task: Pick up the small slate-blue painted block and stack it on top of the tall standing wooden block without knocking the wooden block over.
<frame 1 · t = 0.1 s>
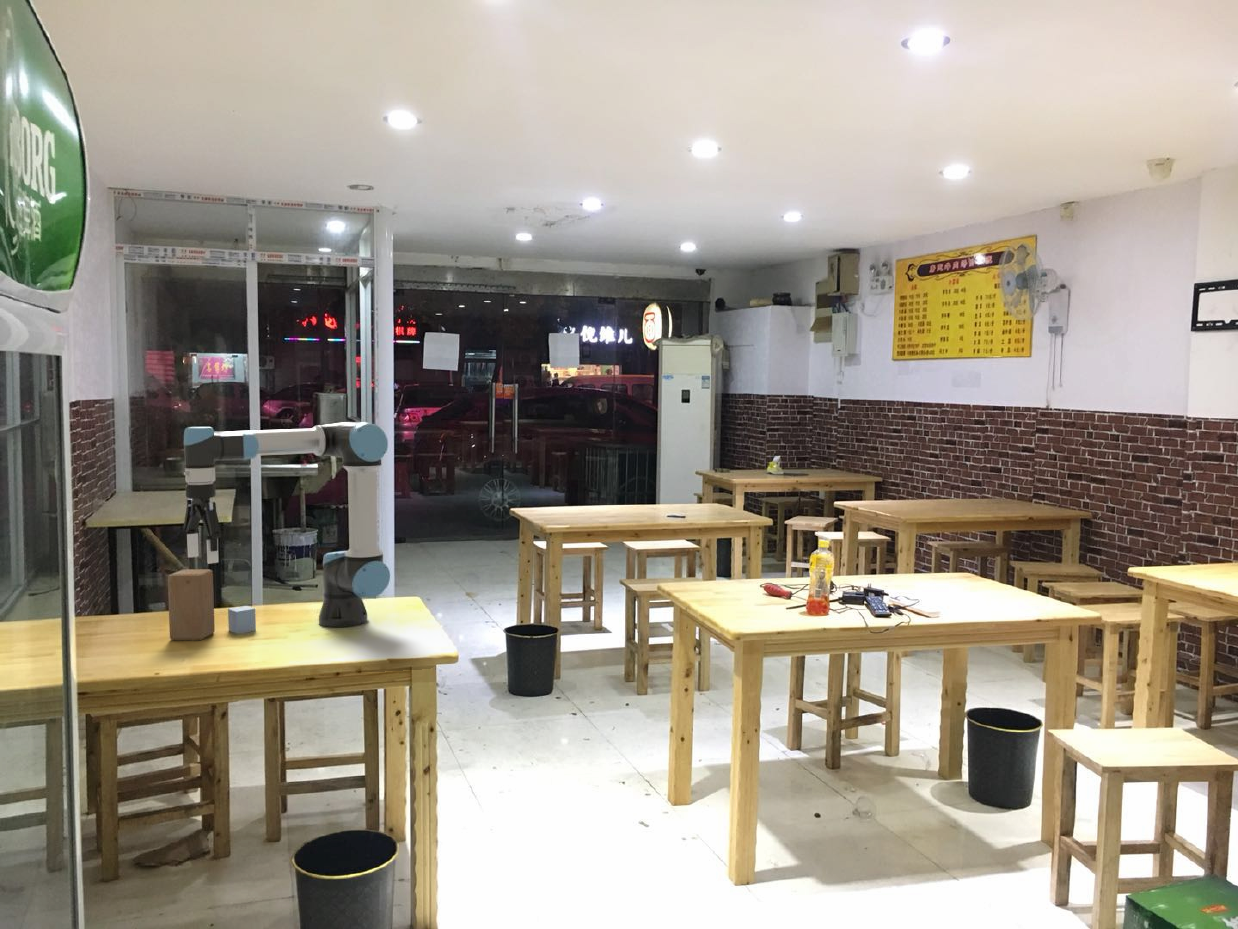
hand: (202, 560, 268), 28 cm above the table, fingers open, 13 cm apart
wooden block: (192, 637, 296), on the table
slate block: (242, 630, 303), on the table
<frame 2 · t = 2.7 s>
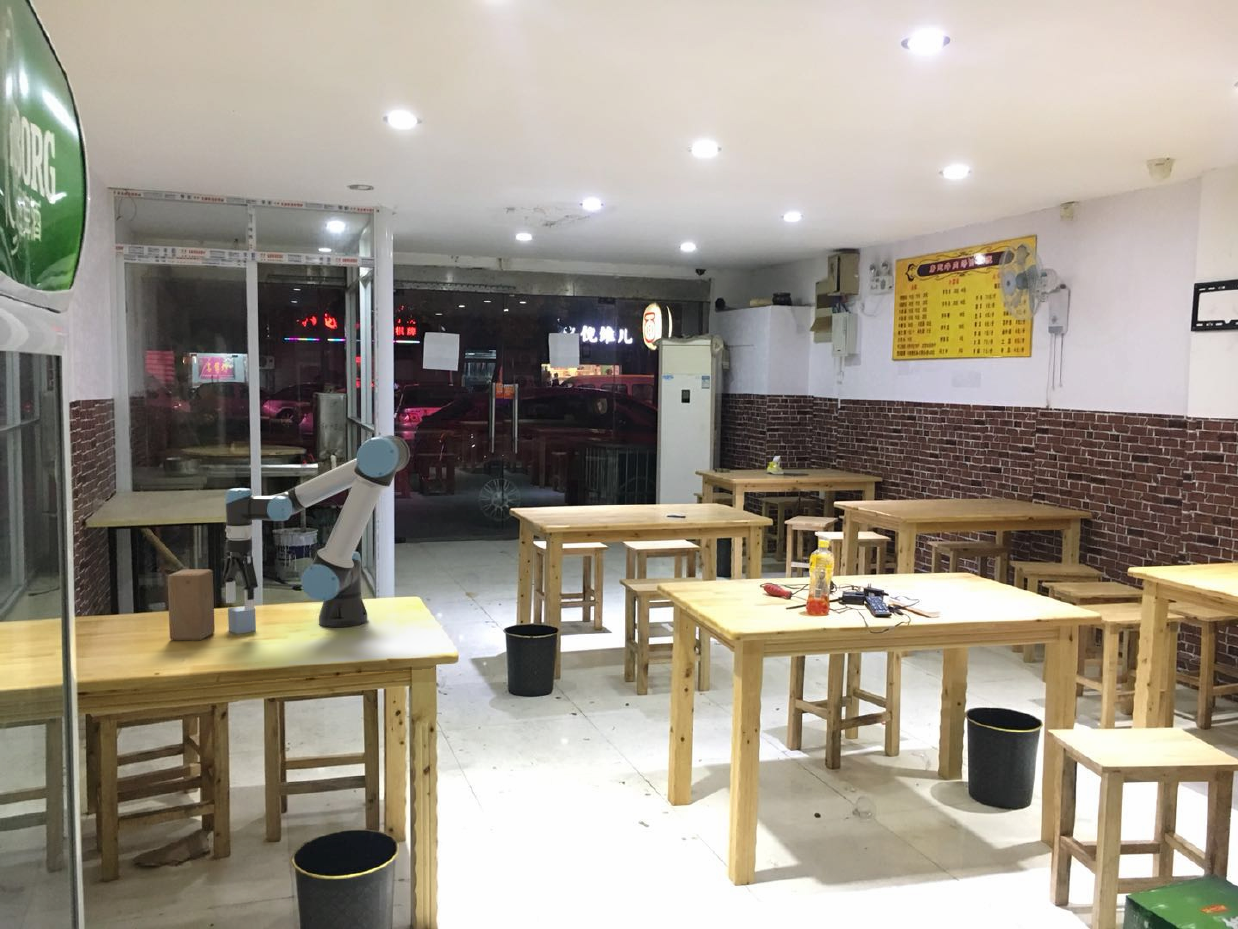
hand: (240, 606, 303), 8 cm above the table, fingers open, 13 cm apart
nothing on the table moved.
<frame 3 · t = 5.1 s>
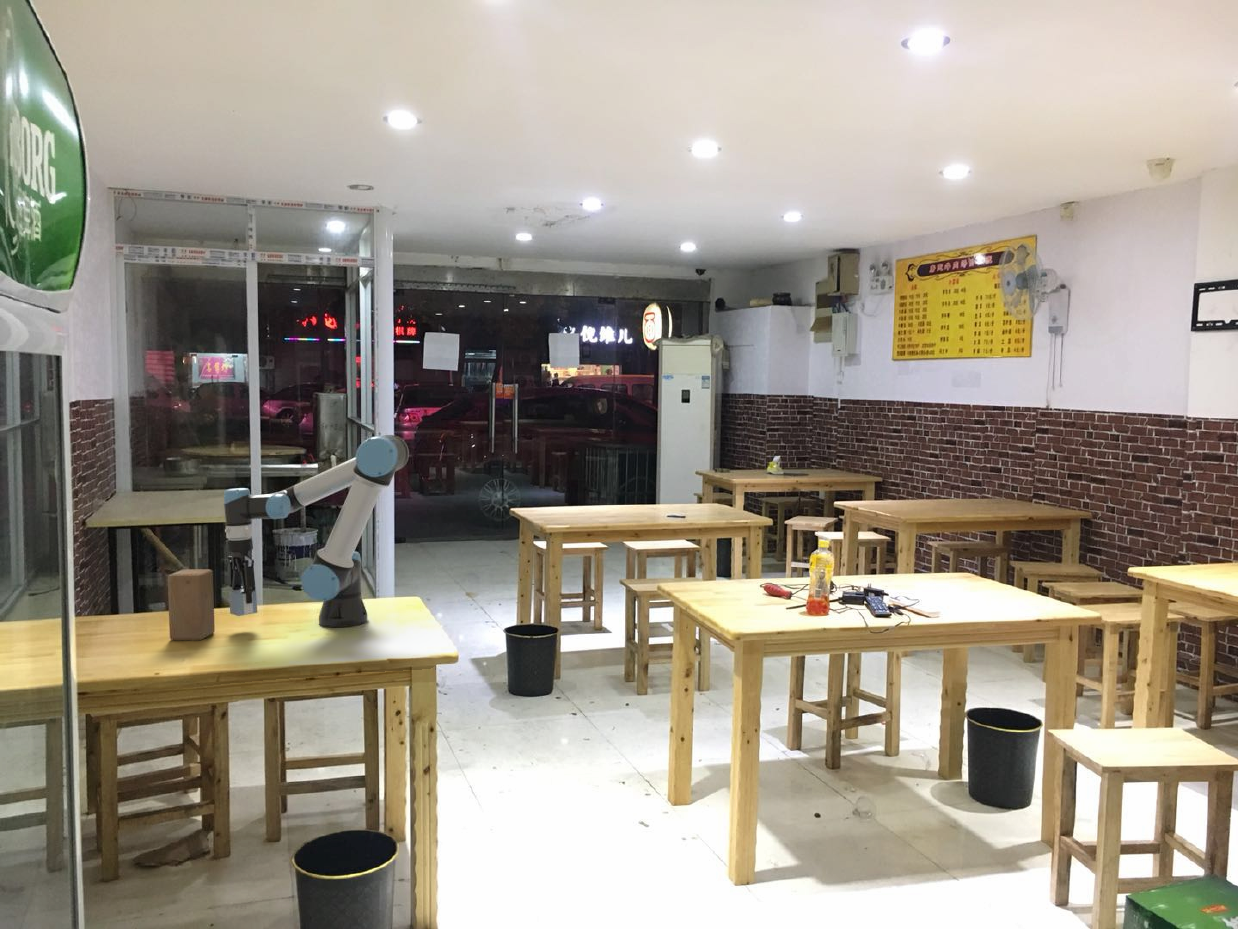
hand: (243, 612, 303), 6 cm above the table, fingers closed on slate block, 6 cm apart
slate block: (243, 613, 303), point 6 cm above the table, touching gripper
everything else where it was.
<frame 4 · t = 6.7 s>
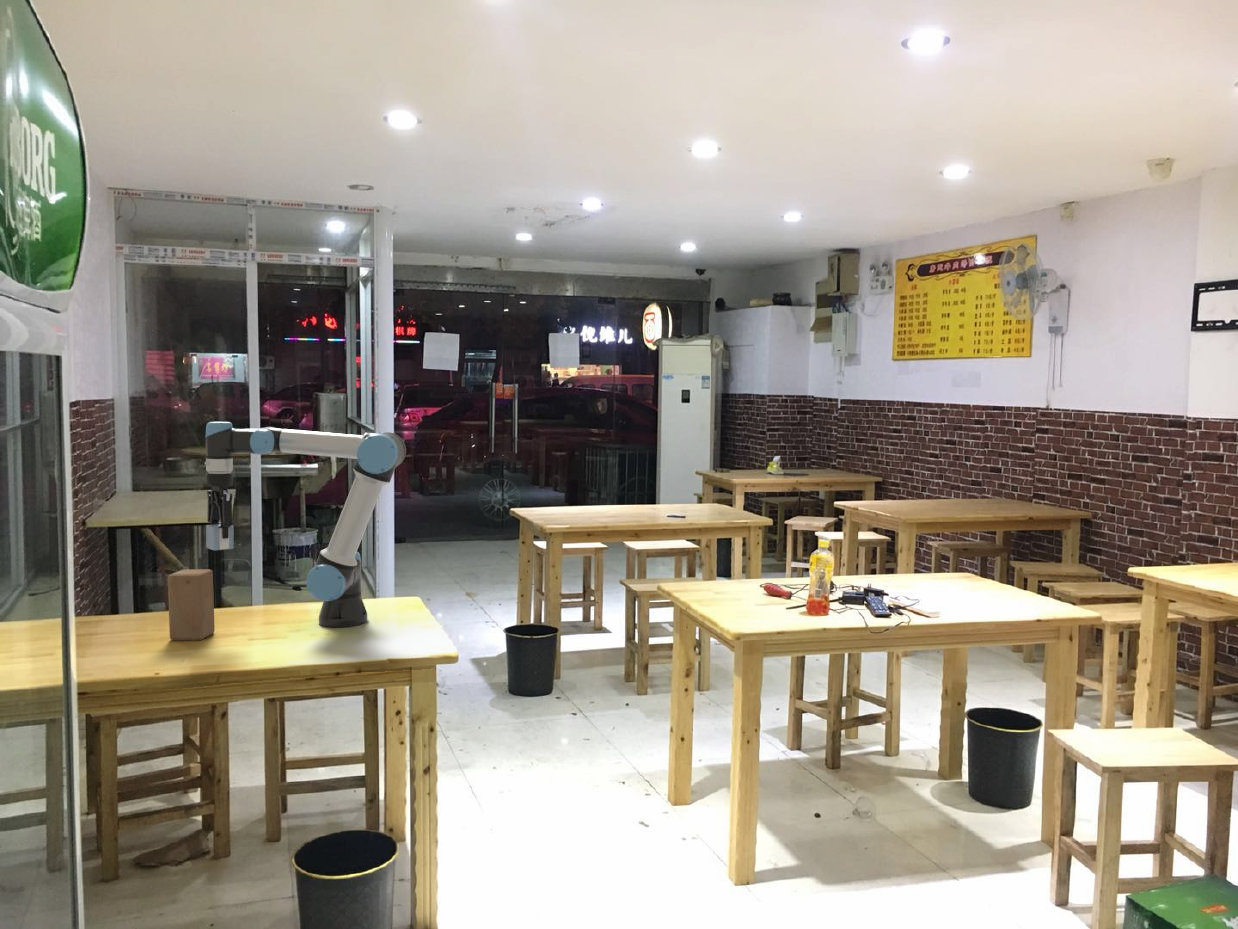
hand: (220, 547, 299), 27 cm above the table, fingers closed on slate block, 6 cm apart
slate block: (219, 548, 299), point 26 cm above the table, touching gripper
everything else where it was.
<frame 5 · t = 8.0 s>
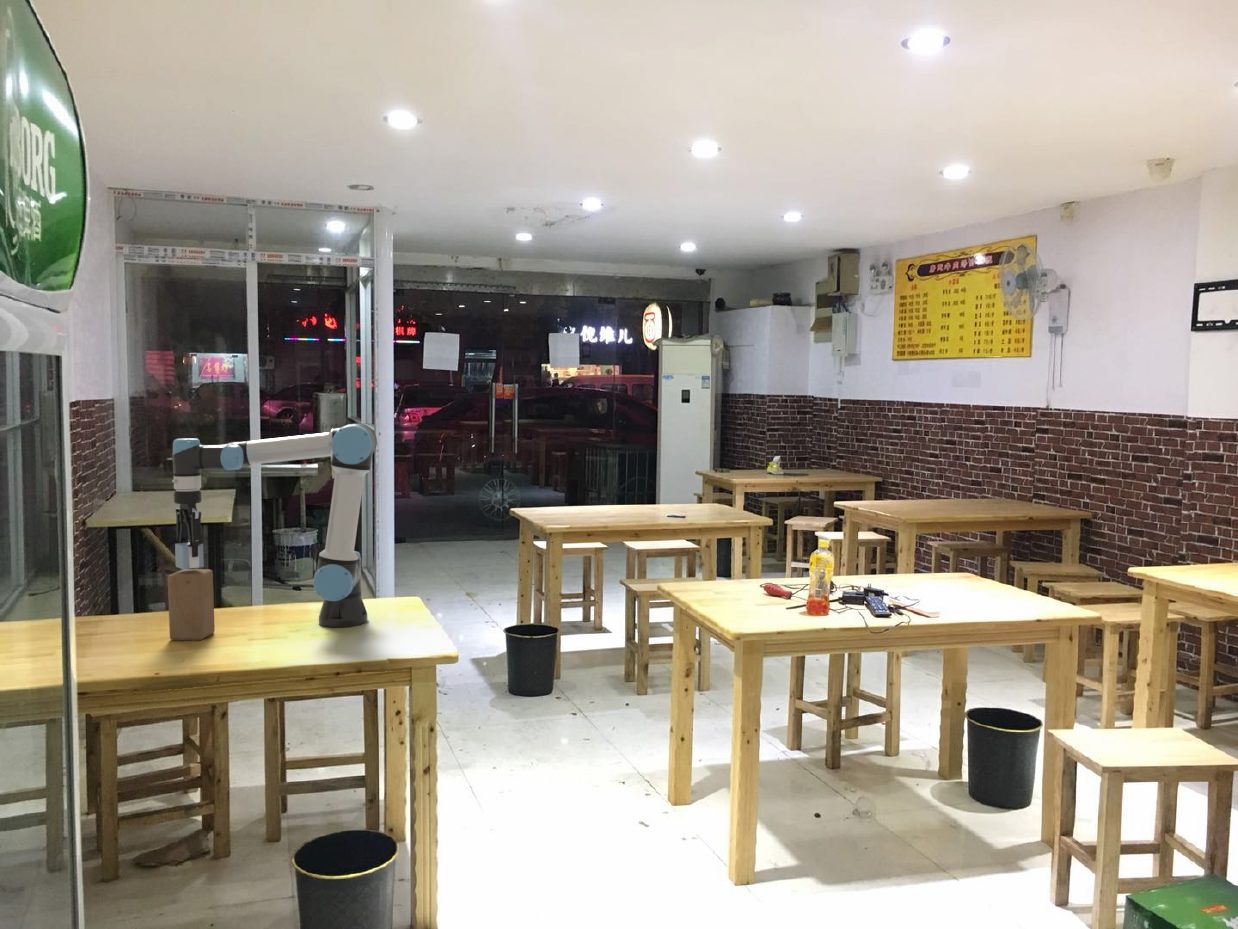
hand: (189, 566, 294), 22 cm above the table, fingers closed on slate block, 6 cm apart
slate block: (189, 566, 294), point 21 cm above the table, touching gripper
everything else where it was.
when the fingers open (20 cm above the table, at t = 8.5 s): slate block stays where it is, resting on wooden block.
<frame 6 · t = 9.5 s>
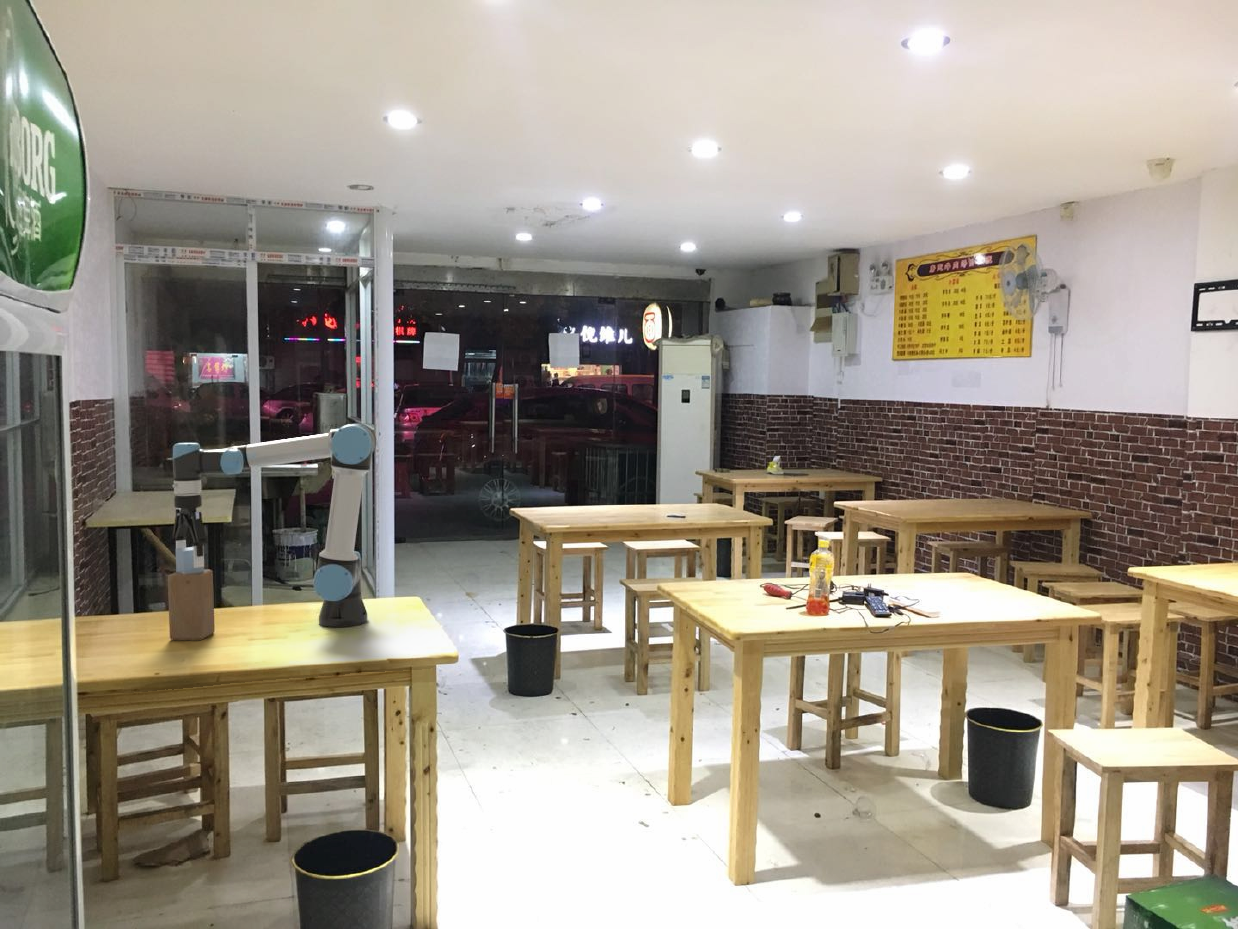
hand: (190, 564, 294), 22 cm above the table, fingers open, 13 cm apart
wooden block: (192, 637, 296), on the table, touching slate block
slate block: (190, 571, 294), point 20 cm above the table, touching wooden block
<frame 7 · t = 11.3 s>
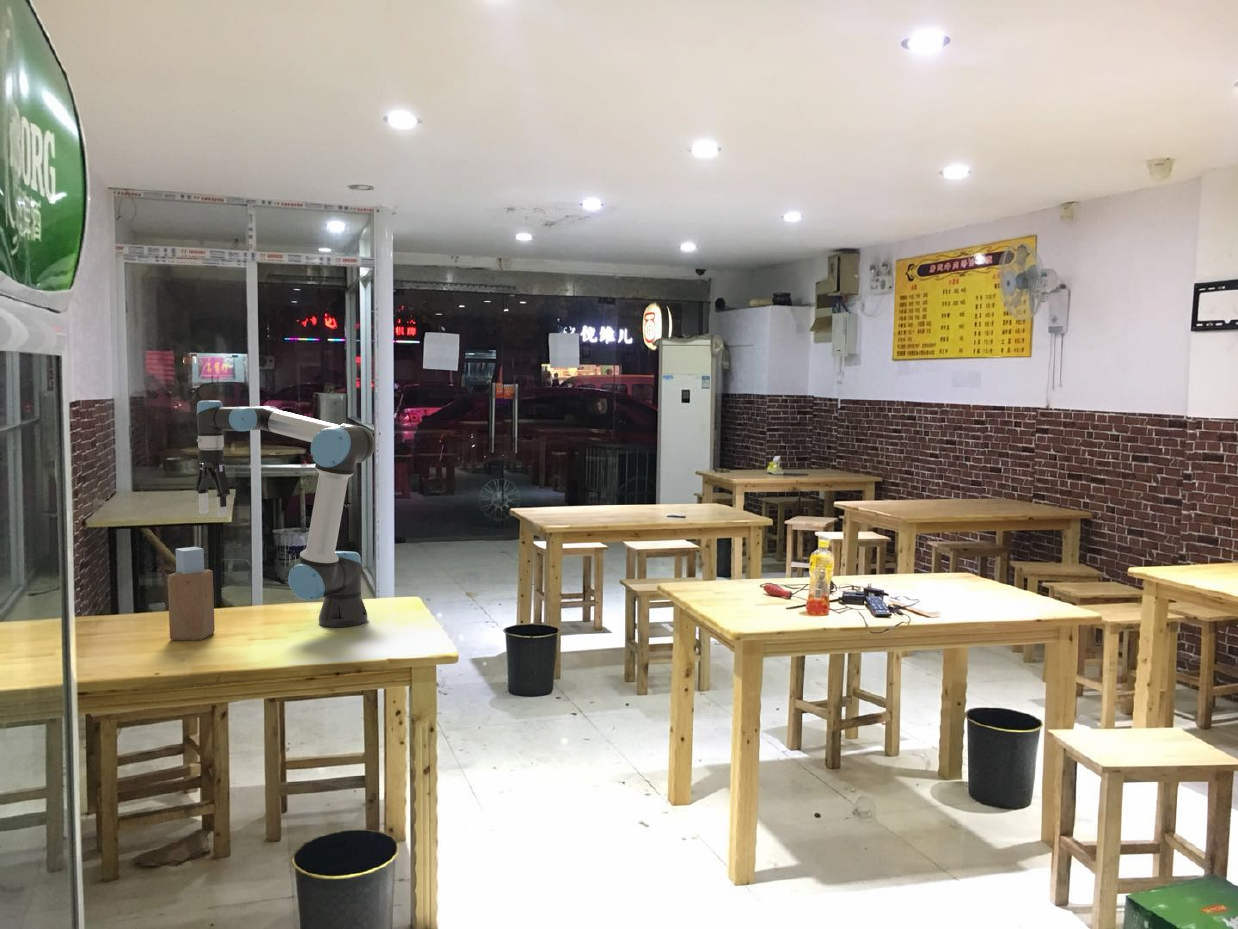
hand: (213, 515, 312), 35 cm above the table, fingers open, 13 cm apart
nothing on the table moved.
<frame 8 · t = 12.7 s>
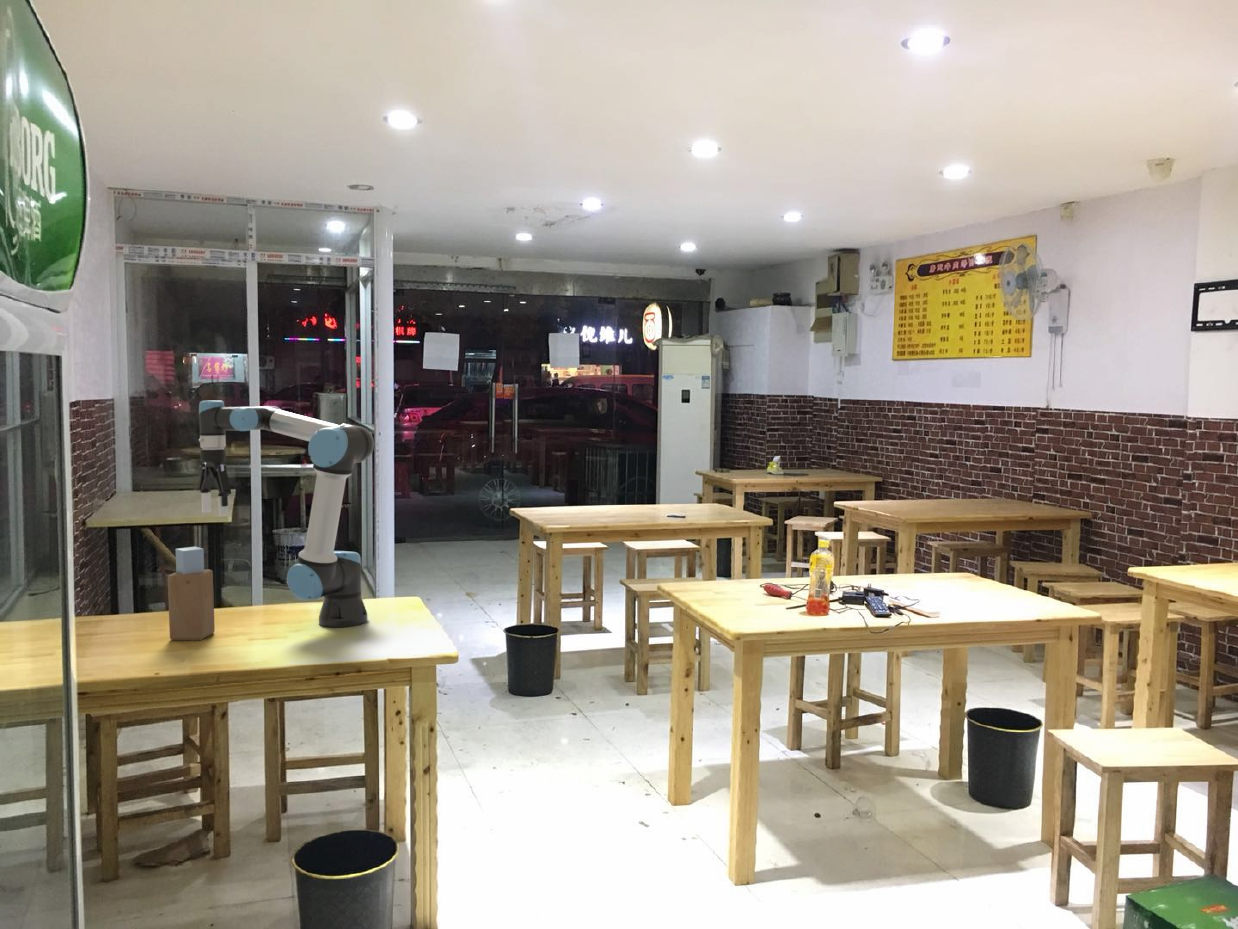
hand: (215, 514, 313), 35 cm above the table, fingers open, 13 cm apart
nothing on the table moved.
at the end: slate block inside the target area in the wooden block (0.1 cm from its centre), point 20.2 cm above the wooden block's base; slate block point 20.0 cm above the table; wooden block tilted 0° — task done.
